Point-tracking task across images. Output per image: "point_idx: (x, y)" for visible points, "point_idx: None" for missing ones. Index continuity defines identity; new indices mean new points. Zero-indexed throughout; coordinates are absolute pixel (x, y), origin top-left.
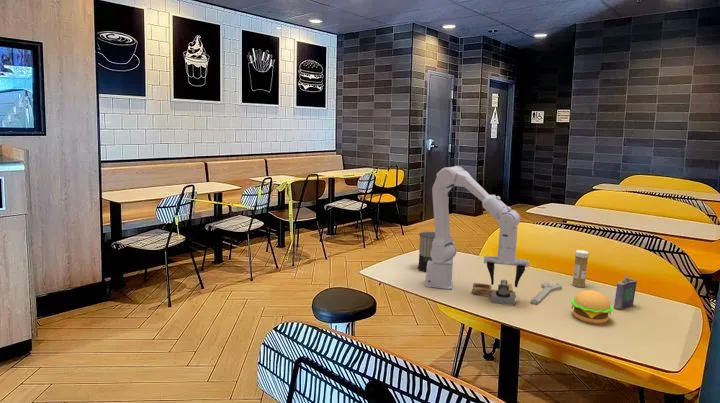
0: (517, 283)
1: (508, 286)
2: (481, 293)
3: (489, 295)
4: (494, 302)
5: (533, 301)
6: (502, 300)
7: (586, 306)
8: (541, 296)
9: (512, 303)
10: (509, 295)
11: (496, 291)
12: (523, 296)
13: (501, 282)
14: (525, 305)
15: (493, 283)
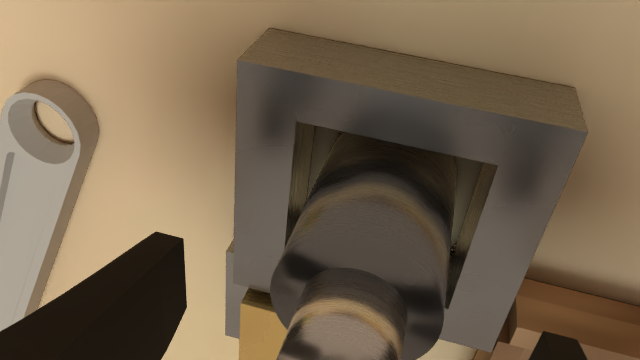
0: (109, 267)
1: (282, 286)
2: (622, 318)
3: (521, 283)
4: (531, 81)
5: (65, 147)
6: (420, 76)
7: None
8: (4, 243)
9: (289, 42)
10: None
11: None
12: None
13: (392, 350)
14: (144, 45)
15: (551, 349)
